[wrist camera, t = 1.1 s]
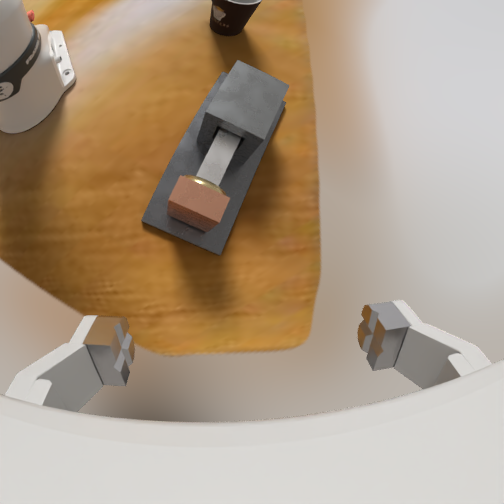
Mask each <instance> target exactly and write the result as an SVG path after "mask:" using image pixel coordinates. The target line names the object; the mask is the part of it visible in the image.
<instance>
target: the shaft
mask: <svg viewBox="0 0 504 504" xmlns="http://www.w3.org/2000/svg"><path fill="white" fill-rule="evenodd" d="M240 140H241V136H239V135H237V134H234V133H232V132H230V131H228V130H226V129H224V128H222V127H221V128H220V130H219V132H218V133H217V135H216V137H215V139H214V141H213V143H212V145H211V147H210V149H209V151H208V153H207V155H206V157H205V159H204V161H203V163H202V165H201V167H200V169H199V171H198V173H197V175H196V176H193V175H184V176H181V175H180V177H179V179H178V181H177V183H176V185H175V187H174V189H173V191H172V193H171V195H170V197H169V199H168V208H167V215H169V216H171V217H173V218H176V219H178V220H180V221H182V222H185V223H187V224H189V225H191V226H194V227H196V228H198V229H200V230H203V231H205V232H209V231H210V230H211V229H212V228H214V227H215V226H216V225H217V224H219V223H220V221H221V218H222V216H223V214H224V211H225V209H226V207H227V204H228V202H229V200H230V197H227V196H226V193H225V192H224V191H223V190H222V189H221V188H220V187H219V184H220V182H221V180H222V177H223V175H224V173H225V171H226V169H227V167H228V165H229V162H230V160H231V158H232V156H233V154H234V152H235V150H236V148H237V146H238V144H239V142H240Z"/></svg>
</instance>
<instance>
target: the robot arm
mask: <svg viewBox="0 0 504 504" xmlns="http://www.w3.org/2000/svg"><path fill="white" fill-rule="evenodd" d="M32 21H34V12H33V10H31V11H29V12H27V13H26V10H25V7H24V4H23V1H22V0H0V130H2V131H3V132H6V133H19V132H23V131H26V130H28V129H30V128H32V127H34V126H35V125H37V124H38V123H39V122H41V121H42V120H43V119H44V118H45V117H46V116H47V115H48V114H49V113H50V112H51V111H52V110H53V108H54V107H55V106H56V104H57V103H58V101H59V99H60V97H61V96H62V94H63V93H64V92H65V91H66V90H67V89H68V88H69V87H70V86H71V85H72V84H73V83H74V82H75V80H76V75H75V72H74V69H73V66H72V62H71V59H70V56H69V53H68V49H67V46H66V42H65V39H64V36H63V33H62V31H49V28H48V26H47V25H43V24H40V25H33V24H32V23H31V22H32ZM67 74H68V75H67ZM362 317H363V318H364V320H363V321H362V322H361V323H360V325H359V328H358V342H359V345H360V347H361V349H362V350H363V351H365V352H367V353H368V354H367V360H368V362H369V364H370V366H371V368H372V370H373V371H375V370H381V369H386V368H391V367H394V369H396V370H397V371H398V372H400V373H401V374H403V375H404V376H405V377H407V378H408V379H409V380H411V381H412V382H414V383H415V384H416V385H418V386H419V387H421V388H422V389H423V390H419V391H416V392H413V393H409V394H406V395H402V396H398V397H395V398H391V399H387V400H383V401H379V402H374V403H370V404H365V405H360V406H356V407H351V408H346V409H340V410H335V411H329V412H322V413H316V414H309V415H302V416H293V417H285V418H275V419H264V420H252V421H251V420H250V421H234V422H165V421H149V420H134V419H125V418H115V417H107V416H99V415H92V414H85V413H79V412H78V411H79V410H80V409H81V408H82V407H83V406H84V405H85V404H86V403H87V402H88V401H89V400H90V399H91V398H92V397H93V396H94V395H95V394H96V393H97V392H98V391H99V390H100V389H101V388H102V387H103V385H114V386H126V383H127V380H128V377H129V373H130V371H129V368H128V366H129V365H131V364H132V363H133V360H134V353H135V348H134V341H133V338H132V336H131V335H130V334H129V333H127V332H128V329H129V324H128V321H127V318H125V317H122V316H97V315H86V316H84V318H83V319H82V321H81V323H80V324H79V326H78V328H77V329H76V331H75V333H74V335H73V336H72V338H71V340H70V342H69V343H64V344H63V345H61V346H60V347H58V348H56V349H55V350H53V351H52V352H50V353H48V354H47V355H45V356H44V357H42V358H40V359H39V360H37V361H36V362H34V363H32V364H31V365H29V366H28V367H26V368H24V369H23V370H21V371H20V372H18V373H17V374H16V376H15V378H14V380H13V381H12V383H11V385H10V387H9V388H8V390H7V392H6V394H5V395H2V394H0V504H504V359H503V360H500V361H498V362H496V363H494V364H492V363H491V362H490V361H489V360H488V358H487V357H486V356H485V355H484V354H483V352H482V351H481V350H480V349H479V348H478V347H477V346H476V345H474V344H471V343H469V342H467V341H465V340H463V339H461V338H458V337H456V336H454V335H452V334H450V333H447V332H445V331H443V330H441V329H438V328H436V327H434V326H432V325H429V324H423V323H422V321H421V320H420V319H419V318H418V316H417V315H416V314H415V313H414V312H413V311H412V309H411V308H410V307H409V306H408V305H407V304H406V303H405V301H403V300H395V301H390V302H384V303H377V304H369V305H365V306H364V308H363V311H362Z"/></svg>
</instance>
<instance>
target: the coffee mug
mask: <svg viewBox="0 0 504 504" xmlns="http://www.w3.org/2000/svg"><path fill="white" fill-rule="evenodd" d="M261 1H262V0H212V9H211V18H210V27H211V29H212V30H213V31H214V32H216V33H218V34H220V35H224V36H234V35H237V34H239V33H240V32H241V31H242V29H243V28H244V26H245V25H246V23H247V22H248V20H249V19H250V17H251V16H252V14H253V13H254V11H255V10H256V8H257V7H258V5H259V4H260V3H261Z"/></svg>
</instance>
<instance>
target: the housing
mask: <svg viewBox="0 0 504 504" xmlns="http://www.w3.org/2000/svg"><path fill="white" fill-rule="evenodd" d="M288 88H289V85H288V84H286V83H284V82H282V81H280V80H278V79H276V78H274V77H272V76H270V75H268V74H266V73H264V72H262V71H260V70H258V69H256V68H254V67H252V66H250V65H248V64H245V63H243V62H241V61H239V60H237V62H236V63H235V65H234V66H233V68H232V69H231V71H230V72H229V74H227V73H225V72H222V73H221V75H220V77H219V78H218V80H217V81H216V83H215V84H214V86H213V87H212V89H211V91H210V92H209V94H208V96H207V97H206V99H205V100H204V102H203V104H202V105H201V107H200V109H199V110H198V112H197V114H196V115H195V117H194V119H193V121H192V122H191V124H190V126H189V128H188V129H187V131H186V133H185V135H184V136H183V138H182V140H181V142H180V144H179V146H178V147H177V149H176V151H175V153H174V155H173V157H172V159H171V161H170V162H169V164H168V166H167V168H166V170H165V172H164V174H163V176H162V178H161V180H160V182H159V184H158V186H157V188H156V190H155V192H154V194H153V196H152V198H151V201H150V203H149V205H148V207H147V209H146V211H145V213H144V216H143V218H142V220H141V221H142V222H144V223H146V224H148V225H150V226H153V227H155V228H157V229H159V230H162V231H164V232H166V233H168V234H171V235H173V236H175V237H178V238H180V239H182V240H184V241H187V242H189V243H191V244H194V245H196V246H198V247H200V248H203V249H205V250H207V251H210V252H212V253H214V254H217V255H219V256H220V255H221V253H222V250H223V248H224V245H225V243H226V240H227V238H228V236H229V233H230V231H231V228H232V226H233V224H234V221H235V219H236V216H237V214H238V212H239V209H240V207H241V205H242V202H243V200H244V198H245V195H246V193H247V190H248V188H249V186H250V183H251V181H252V179H253V176H254V174H255V172H256V170H257V167H258V165H259V163H260V160H261V158H262V156H263V153H264V151H265V149H266V147H267V144H268V142H269V140H270V138H271V135H272V133H273V131H274V129H275V126H276V124H277V122H278V120H279V117H280V115H281V113H282V111H283V109H284V106H285V104H286V102H284V101H283V98H284V96H285V94H286V92H287V90H288ZM221 127H222V128H224V129H226V130H228V131H230V132H232V133H234V134H237V135H239V136H241V140H240V142H239V144H238V146H237V148H236V150H235V152H234V154H233V156H232V158H231V160H230V162H229V165H228V167H227V169H226V171H225V173H224V175H223V177H222V180H221V182H220V184H219V187H220V188H221V189H222V190H223V191H224V192H225V193H226V196H227V197H230V200H229V202H228V204H227V207H226V209H225V211H224V214H223V216H222V218H221V221H220V223H219V224H217V225H216V226H215V227H214V228H212V229H211V230H210V231H209V232H205V231H203V230H200V229H198V228H196V227H194V226H191V225H189V224H187V223H185V222H182V221H180V220H178V219H176V218H173V217H171V216H169V215H167V208H168V199H169V197H170V195H171V193H172V191H173V189H174V187H175V185H176V183H177V181H178V179H179V177H180V175H181V176H184V175H193V176H196V175H197V173H198V171H199V169H200V167H201V165H202V163H203V161H204V159H205V157H206V155H207V153H208V151H209V149H210V147H211V145H212V143H213V141H214V139H215V137H216V135H217V133H218V132H219V130H220V128H221Z"/></svg>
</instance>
